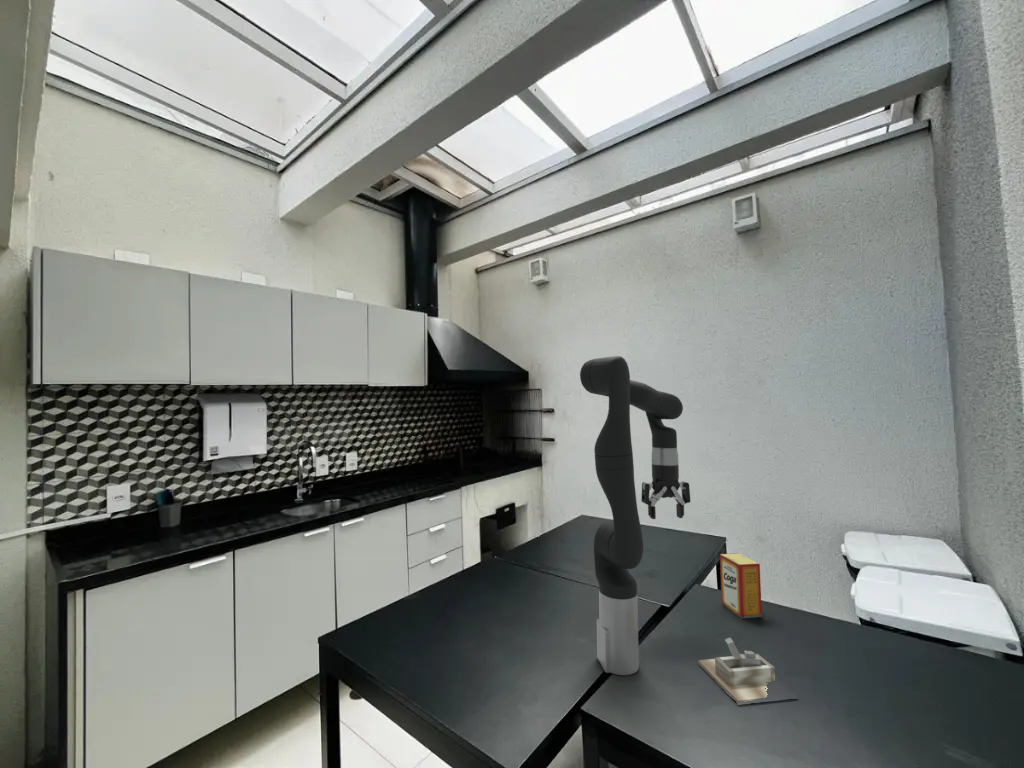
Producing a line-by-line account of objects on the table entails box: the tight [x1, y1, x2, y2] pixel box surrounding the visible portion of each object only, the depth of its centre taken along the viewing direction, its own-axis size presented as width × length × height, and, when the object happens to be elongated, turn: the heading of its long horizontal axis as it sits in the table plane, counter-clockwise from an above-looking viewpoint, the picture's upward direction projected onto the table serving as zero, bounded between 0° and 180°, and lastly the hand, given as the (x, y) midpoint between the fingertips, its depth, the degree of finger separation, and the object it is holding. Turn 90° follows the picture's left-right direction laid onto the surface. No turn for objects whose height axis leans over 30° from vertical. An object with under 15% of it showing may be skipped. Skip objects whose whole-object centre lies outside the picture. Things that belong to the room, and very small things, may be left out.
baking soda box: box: [719, 552, 763, 617], centre depth 126 cm, size 10×6×16 cm
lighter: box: [724, 637, 761, 668], centre depth 93 cm, size 7×2×8 cm, turn 85°
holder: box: [697, 653, 776, 703], centre depth 93 cm, size 14×14×4 cm
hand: (666, 518), depth 120 cm, fingers open, 8 cm apart
